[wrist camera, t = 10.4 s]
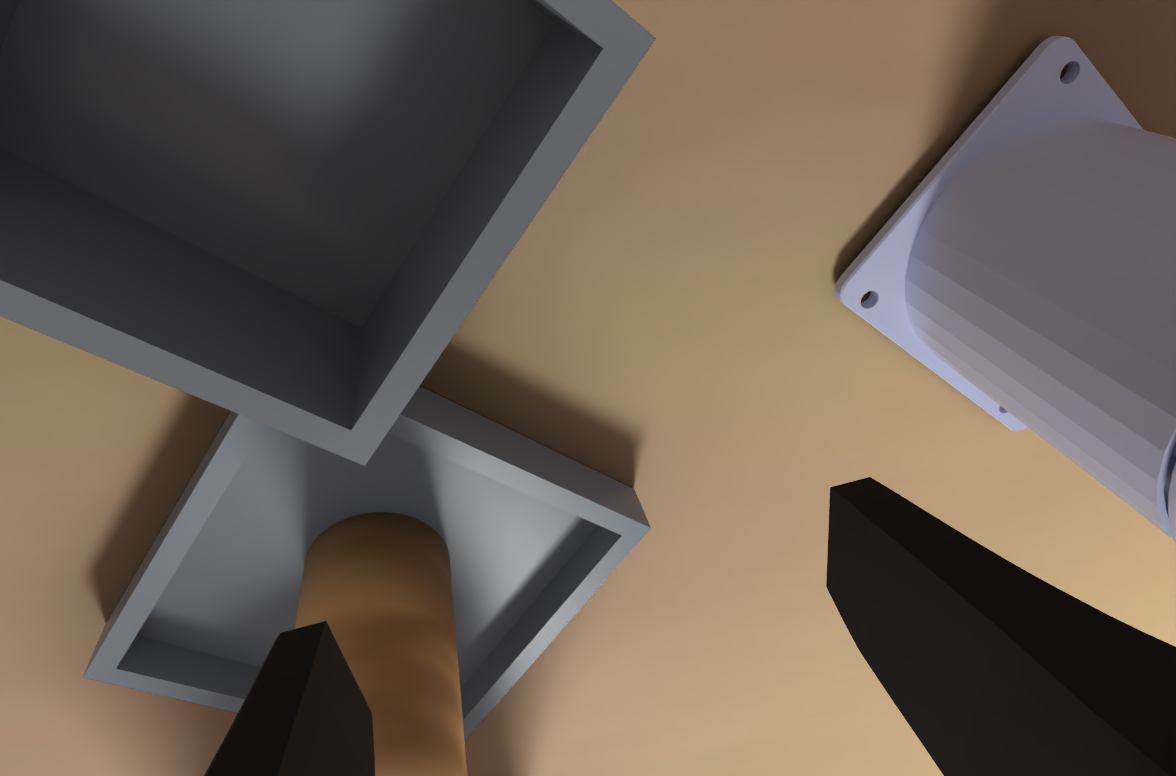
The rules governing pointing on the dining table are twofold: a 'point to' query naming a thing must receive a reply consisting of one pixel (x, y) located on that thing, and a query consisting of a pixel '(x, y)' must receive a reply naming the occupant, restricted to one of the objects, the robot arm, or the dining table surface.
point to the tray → (344, 489)
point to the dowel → (393, 635)
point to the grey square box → (286, 184)
